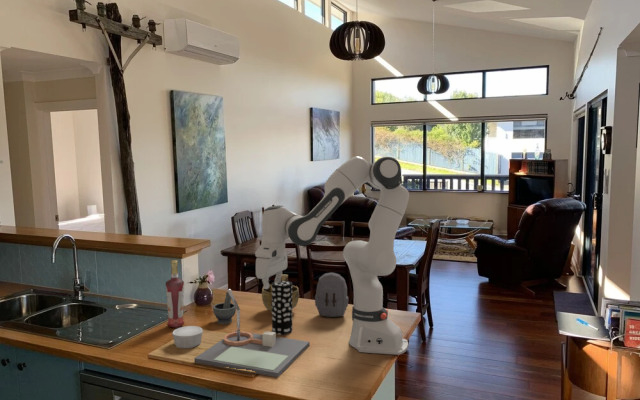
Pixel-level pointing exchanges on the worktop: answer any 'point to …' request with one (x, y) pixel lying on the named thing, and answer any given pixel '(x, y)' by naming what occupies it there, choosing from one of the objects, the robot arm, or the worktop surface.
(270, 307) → the olive round bowl
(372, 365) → the worktop surface
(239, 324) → the bent wire
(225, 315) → the mortar and pestle
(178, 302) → the liquor
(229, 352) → the wire board
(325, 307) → the grey rounded bag
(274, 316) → the white-spotted black cylinder
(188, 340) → the ramekin
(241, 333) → the ring wand
